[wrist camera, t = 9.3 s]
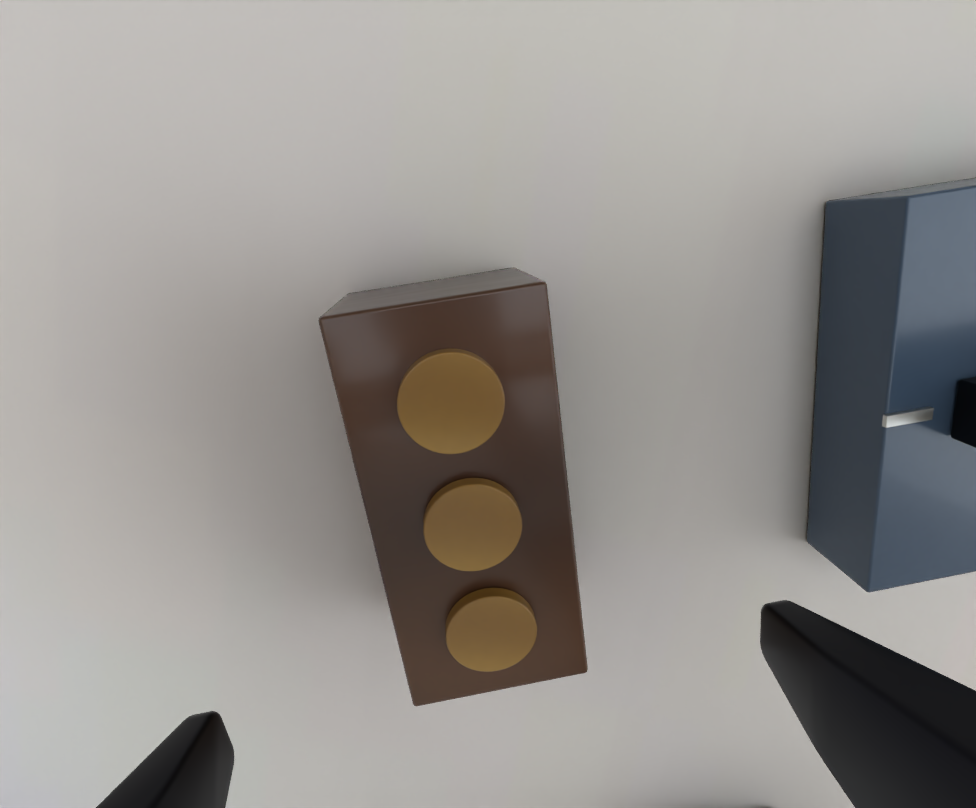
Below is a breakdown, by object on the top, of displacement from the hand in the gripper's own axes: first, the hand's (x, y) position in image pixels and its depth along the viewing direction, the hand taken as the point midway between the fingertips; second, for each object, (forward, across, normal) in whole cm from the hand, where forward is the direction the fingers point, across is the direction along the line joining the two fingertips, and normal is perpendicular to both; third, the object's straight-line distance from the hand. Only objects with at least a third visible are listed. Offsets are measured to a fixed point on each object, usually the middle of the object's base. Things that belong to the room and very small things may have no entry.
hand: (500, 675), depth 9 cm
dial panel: (+9, -17, 0) cm, 19 cm away
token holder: (+9, 0, 0) cm, 9 cm away
